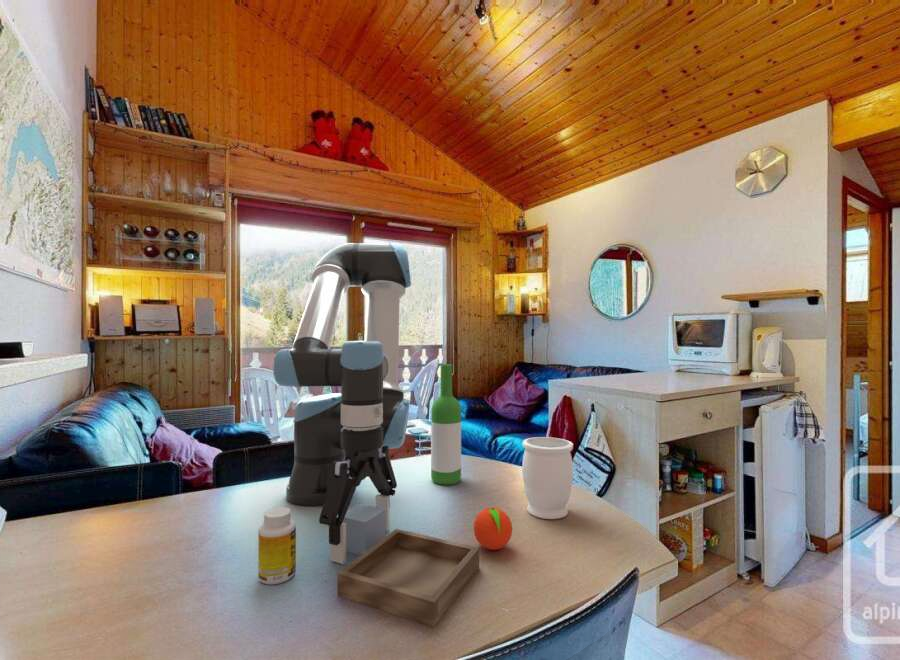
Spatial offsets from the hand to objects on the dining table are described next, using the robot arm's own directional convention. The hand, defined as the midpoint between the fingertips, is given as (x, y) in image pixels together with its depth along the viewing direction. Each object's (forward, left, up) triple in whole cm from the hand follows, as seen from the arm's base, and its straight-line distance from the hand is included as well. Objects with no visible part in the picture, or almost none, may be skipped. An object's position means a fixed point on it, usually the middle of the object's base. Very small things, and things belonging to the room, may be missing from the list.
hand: (361, 544), depth 80 cm
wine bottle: (-1, +37, 0) cm, 37 cm away
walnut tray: (+14, -6, 0) cm, 15 cm away
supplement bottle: (-6, -14, 0) cm, 15 cm away
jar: (+27, +29, 0) cm, 40 cm away
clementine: (+22, +9, 0) cm, 24 cm away
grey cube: (0, 0, 0) cm, 0 cm away
